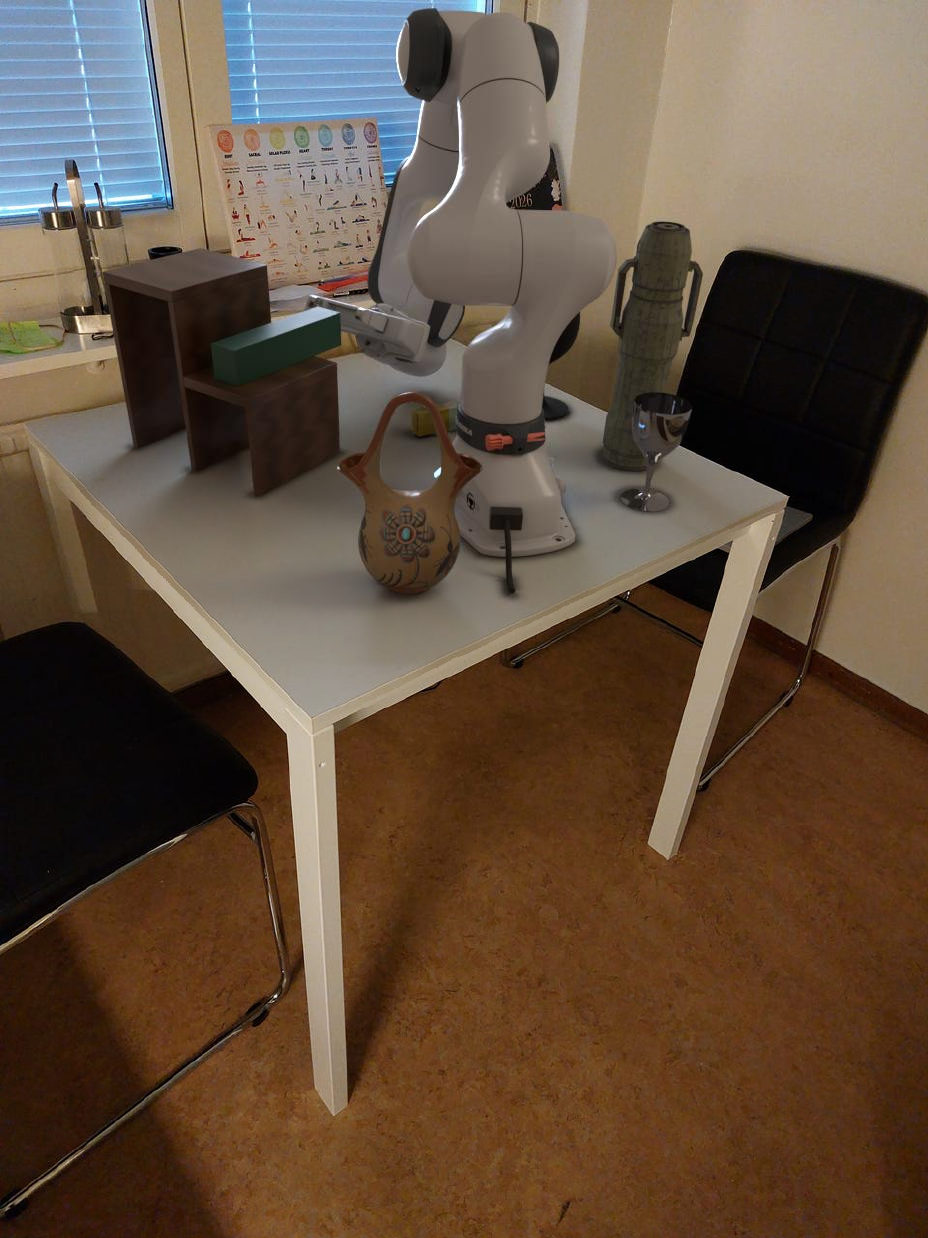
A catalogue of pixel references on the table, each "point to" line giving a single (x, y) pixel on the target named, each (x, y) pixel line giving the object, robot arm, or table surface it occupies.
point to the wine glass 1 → (566, 340)
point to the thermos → (648, 330)
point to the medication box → (424, 422)
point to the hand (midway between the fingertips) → (335, 307)
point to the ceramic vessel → (409, 510)
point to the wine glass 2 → (656, 441)
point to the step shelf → (184, 375)
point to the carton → (275, 346)
